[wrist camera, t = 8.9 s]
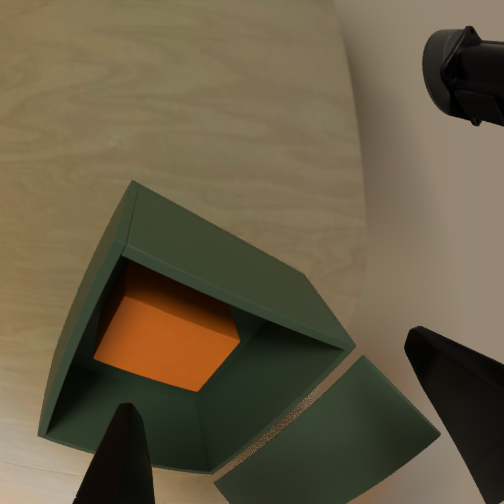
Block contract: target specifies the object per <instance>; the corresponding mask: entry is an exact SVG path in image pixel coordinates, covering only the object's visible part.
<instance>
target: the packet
mask: <svg viewBox="0 0 504 504" xmlns="http://www.w3.org/2000/svg"><path fill="white" fill-rule="evenodd" d="M239 343H240V338H239V335H238V332H237V330H236V327H235V324H234V321H233V318H232V315H231V312H230V309H229V306H228V303H226V302H223V301H221V300H219V299H216V298H214V297H212V296H209V295H207V294H205V293H202V292H200V291H198V290H196V289H193V288H191V287H189V286H187V285H184V284H182V283H180V282H178V281H176V280H173V279H171V278H169V277H167V276H165V275H162V274H160V273H158V272H156V271H154V270H152V269H150V268H147V267H145V266H143V265H141V264H139V263H137V262H135V261H133V260H131V259H128V260H127V262H126V264H125V266H124V268H123V270H122V272H121V274H120V276H119V277H118V279H117V281H116V283H115V285H114V287H113V289H112V291H111V293H110V295H109V297H108V299H107V301H106V303H105V305H104V307H103V309H102V312H101V314H100V316H99V322H98V328H97V333H96V340H95V346H94V353H93V359H95V360H98V361H101V362H103V363H106V364H109V365H111V366H114V367H117V368H120V369H123V370H126V371H129V372H132V373H135V374H138V375H141V376H144V377H147V378H150V379H153V380H156V381H160V382H163V383H166V384H170V385H173V386H177V387H180V388H184V389H188V390H191V391H195V392H198V391H199V390H200V388H201V387H202V386H203V385H204V384H205V383H206V382H207V380H208V379H209V378H210V377H211V376H212V375H213V373H214V372H215V371H216V370H217V369H218V367H219V366H220V365H221V364H222V363H223V362H224V360H225V359H226V358H227V357H228V356H229V354H230V353H231V352H232V351H233V350H234V349H235V347H236V346H237V345H238V344H239Z"/></svg>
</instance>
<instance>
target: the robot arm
mask: <svg viewBox="0 0 504 504" xmlns="http://www.w3.org/2000/svg"><path fill="white" fill-rule="evenodd" d="M440 74H441V76H442V77H443V79H444V80H445V82H446V83H447V84H448V86H449V87H450V89H451V91H452V92H453V94H454V95H455V97H456V98H457V100H458V102H459V103H460V105H461V106H462V108H463V110H464V111H465V113H466V115H467V116H468V118H469V120H470V121H471V123H472V125H474V126H479V125H480V123H481V122H482V120H483V121H486V122H490V123H493V124H497V125H500V126H504V42H499V41H484V40H481V39H480V37H479V36H478V34H477V32H476V31H475V29H474V28H473V27H472V26H466V27H465V29H464V30H463V32H462V34H461V35H460V37H459V38H458V40H457V42H456V43H455V45H454V47H453V48H452V50H451V51H450V53H449V55H448V56H447V58H446V59H445V61H444V62H443V64H442V66H441V67H440ZM404 349H405V353H406V355H407V357H408V359H409V361H410V363H411V365H412V367H413V369H414V372H415V374H416V375H417V378H418V380H419V382H420V384H421V386H422V388H423V390H424V391H425V393H426V395H427V396H428V398H429V400H430V401H431V403H432V404H433V406H434V408H435V410H436V411H437V413H438V415H439V417H440V418H441V420H442V422H443V424H444V425H445V427H446V429H447V431H448V432H449V434H450V436H451V438H452V440H453V441H454V443H455V445H456V447H457V449H458V450H459V452H460V454H461V456H462V458H463V460H464V461H465V464H466V465H467V467H468V469H469V471H470V473H471V475H472V477H473V479H474V481H475V483H476V485H477V487H478V489H479V491H480V493H481V495H482V497H483V499H484V501H485V503H486V504H499V503H501V502H502V501H504V364H502V363H500V362H498V361H496V360H494V359H492V358H489V357H487V356H485V355H483V354H481V353H479V352H476V351H474V350H472V349H470V348H468V347H466V346H463V345H461V344H459V343H457V342H455V341H453V340H450V339H448V338H446V337H444V336H442V335H440V334H437V333H435V332H433V331H431V330H429V329H427V328H424V327H422V326H417V327H415V328H412V329H411V330H409V333H408V336H407V339H406V342H405V346H404ZM72 504H155V497H154V488H153V477H152V467H151V461H150V456H149V451H148V446H147V440H146V434H145V429H144V423H143V419H142V417H141V415H140V413H139V412H138V410H137V408H136V407H135V405H134V404H133V403H132V402H128V403H121V404H119V405H118V407H117V409H116V411H115V413H114V415H113V417H112V419H111V421H110V423H109V425H108V427H107V429H106V431H105V433H104V436H103V438H102V440H101V442H100V444H99V446H98V448H97V450H96V453H95V455H94V457H93V459H92V461H91V463H90V465H89V468H88V470H87V472H86V474H85V476H84V479H83V481H82V483H81V485H80V488H79V490H78V492H77V494H76V498H75V499H74V501H73V503H72Z"/></svg>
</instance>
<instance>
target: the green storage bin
mask: <svg viewBox="0 0 504 504" xmlns="http://www.w3.org/2000/svg"><path fill="white" fill-rule="evenodd" d="M128 259H131V260H133V261H135V262H137V263H139V264H141V265H143V266H145V267H147V268H150V269H152V270H154V271H156V272H158V273H160V274H162V275H165V276H167V277H169V278H171V279H173V280H176V281H178V282H180V283H182V284H184V285H187V286H189V287H191V288H193V289H196V290H198V291H200V292H202V293H205V294H207V295H209V296H212V297H214V298H216V299H219V300H221V301H223V302H226V303H228V306H229V309H230V312H231V315H232V318H233V321H234V324H235V327H236V330H237V332H238V335H239V338H240V343H239V344H238V345H237V346H236V347H235V349H234V350H233V351H232V352H231V353H230V354H229V356H228V357H227V358H226V359H225V360H224V362H223V363H222V364H221V365H220V366H219V367H218V369H217V370H216V371H215V372H214V373H213V375H212V376H211V377H210V378H209V379H208V380H207V382H206V383H205V384H204V385H203V386H202V387H201V388H200V390H199V391H198V392H195V391H191V390H188V389H184V388H180V387H177V386H173V385H170V384H166V383H163V382H160V381H156V380H153V379H150V378H147V377H144V376H141V375H138V374H135V373H132V372H129V371H126V370H123V369H120V368H117V367H114V366H111V365H109V364H106V363H103V362H101V361H98V360H95V359H93V353H94V346H95V340H96V333H97V328H98V322H99V316H100V314H101V312H102V309H103V307H104V305H105V303H106V301H107V299H108V297H109V295H110V293H111V291H112V289H113V287H114V285H115V283H116V281H117V279H118V277H119V276H120V274H121V272H122V270H123V268H124V266H125V264H126V262H127V260H128ZM355 347H356V344H355V343H354V342H353V340H352V339H351V337H350V336H349V335H348V333H347V332H346V330H345V329H344V328H343V326H342V325H341V324H340V322H339V321H338V319H337V318H336V317H335V315H334V314H333V313H332V311H331V310H330V308H329V307H328V306H327V304H326V303H325V302H324V300H323V299H322V298H321V296H320V295H319V293H318V292H317V291H316V289H315V288H314V287H313V285H312V284H311V283H310V281H309V280H308V279H307V277H306V276H305V275H304V274H303V273H301V272H299V271H297V270H296V269H294V268H292V267H290V266H288V265H287V264H285V263H283V262H281V261H279V260H278V259H276V258H274V257H272V256H270V255H269V254H267V253H265V252H263V251H261V250H259V249H258V248H256V247H254V246H252V245H250V244H249V243H247V242H245V241H243V240H241V239H239V238H238V237H236V236H234V235H232V234H230V233H229V232H227V231H225V230H223V229H221V228H219V227H218V226H216V225H214V224H212V223H210V222H208V221H207V220H205V219H203V218H201V217H199V216H198V215H196V214H194V213H192V212H190V211H188V210H187V209H185V208H183V207H181V206H179V205H177V204H176V203H174V202H172V201H170V200H168V199H166V198H165V197H163V196H161V195H159V194H157V193H155V192H154V191H152V190H150V189H148V188H146V187H144V186H143V185H141V184H139V183H137V182H135V181H133V180H132V181H131V183H130V184H129V186H128V188H127V190H126V192H125V193H124V195H123V197H122V199H121V201H120V203H119V205H118V206H117V208H116V210H115V212H114V214H113V216H112V218H111V220H110V222H109V224H108V226H107V228H106V230H105V232H104V234H103V236H102V238H101V240H100V242H99V244H98V246H97V249H96V251H95V253H94V255H93V257H92V259H91V262H90V264H89V266H88V268H87V270H86V273H85V275H84V277H83V280H82V282H81V284H80V287H79V289H78V292H77V294H76V296H75V299H74V301H73V304H72V306H71V309H70V311H69V314H68V317H67V319H66V322H65V325H64V327H63V330H62V333H61V336H60V338H59V341H58V344H57V347H56V350H55V353H54V356H53V360H52V364H51V368H50V372H49V377H48V381H47V386H46V390H45V395H44V400H43V405H42V411H41V416H40V422H39V428H38V436H39V437H42V438H45V439H47V440H50V441H53V442H56V443H59V444H62V445H65V446H68V447H71V448H74V449H78V450H81V451H85V452H88V453H92V454H95V453H96V450H97V448H98V446H99V444H100V442H101V440H102V438H103V436H104V433H105V431H106V429H107V427H108V425H109V423H110V421H111V419H112V417H113V415H114V413H115V411H116V409H117V407H118V405H119V404H121V403H128V402H132V403H133V404H134V405H135V407H136V408H137V410H138V412H139V413H140V415H141V417H142V419H143V423H144V429H145V434H146V440H147V446H148V451H149V456H150V461H151V467H155V468H161V469H168V470H175V471H182V472H190V473H199V474H211V475H212V474H214V473H215V472H217V471H218V470H219V469H221V468H222V467H223V466H225V465H226V464H227V463H229V462H230V461H231V460H233V459H234V458H235V457H236V456H238V455H239V454H240V453H242V452H243V451H244V450H245V449H247V448H248V447H249V446H250V445H252V444H253V443H254V442H255V441H256V440H258V439H259V438H260V437H261V436H262V435H264V434H265V433H266V432H267V431H268V430H270V429H271V428H272V427H273V426H274V425H275V424H277V423H278V422H279V421H280V420H281V419H282V418H283V417H285V416H286V415H287V414H288V413H289V412H290V411H291V410H292V409H294V408H295V407H296V406H297V405H298V404H299V403H300V402H301V401H302V400H303V399H304V398H305V397H307V396H308V395H309V394H310V393H311V392H312V391H313V390H314V389H315V388H316V387H317V386H318V385H319V384H320V383H321V382H322V381H323V380H324V379H325V378H326V377H327V376H328V375H329V374H330V373H331V372H332V371H333V370H334V369H335V368H336V367H337V366H338V365H339V364H340V363H341V362H342V361H343V360H344V359H345V358H346V357H347V356H348V355H349V354H350V353H351V352H352V350H353V349H354V348H355Z"/></svg>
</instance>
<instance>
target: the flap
mask: <svg viewBox="0 0 504 504" xmlns="http://www.w3.org/2000/svg"><path fill="white" fill-rule="evenodd" d="M440 435H441V433H440V432H439V431H438V430H437V429H436V428H435V427H434V426H433V425H432V424H431V423H430V422H429V421H428V420H427V419H426V418H425V417H424V415H423V414H421V412H420V411H419V410H418V409H417V408H416V407H415V406H414V405H413V404H412V403H411V402H410V401H409V400H408V399H407V398H406V397H405V396H404V395H403V394H402V393H401V392H400V391H399V390H398V389H397V388H396V387H395V386H394V385H393V384H392V383H391V382H390V381H389V380H388V379H387V378H386V377H385V376H384V375H383V374H382V373H381V372H380V371H379V370H378V369H377V368H376V367H375V366H374V365H373V364H372V363H371V362H370V361H369V360H368V359H367V358H366V357H365V356H364V355H363V356H361V357H360V358H359V359H358V360H357V361H356V362H355V364H353V365H352V366H351V368H350V369H349V370H348V371H347V372H346V373H345V374H344V375H343V376H342V377H341V378H340V379H339V380H338V381H336V382H335V384H333V385H332V386H331V387H330V388H329V389H328V390H327V391H326V392H325V393H324V394H323V395H322V396H321V397H320V398H319V399H318V400H316V401H315V402H314V403H313V404H312V405H311V406H310V407H309V408H308V409H307V410H305V411H304V412H303V413H302V414H301V415H300V416H299V417H297V418H296V419H295V420H294V421H293V422H292V423H291V424H289V425H288V426H287V427H286V428H285V429H283V430H282V431H281V432H280V433H279V434H277V435H276V436H275V437H274V438H273V439H271V440H270V441H269V442H268V443H266V444H265V445H264V446H263V447H261V448H260V449H259V450H258V451H256V452H255V453H254V454H252V455H251V456H250V457H248V458H247V459H246V460H244V461H243V462H242V463H240V464H239V465H238V466H236V467H235V468H234V469H232V470H231V471H229V472H228V473H227V474H225V475H224V476H222V477H221V478H219V479H218V480H217V481H215V482H214V484H215V486H216V487H217V488H218V489H219V491H220V492H221V493H222V494H223V496H224V497H225V498H226V499H227V501H228V502H229V503H230V504H346V503H348V502H349V501H351V500H353V499H354V498H356V497H358V496H359V495H361V494H363V493H364V492H366V491H367V490H369V489H370V488H372V487H373V486H375V485H377V484H378V483H379V482H381V481H382V480H384V479H385V478H387V477H388V476H390V475H391V474H392V473H394V472H395V471H397V470H398V469H399V468H401V467H402V466H404V465H405V464H406V463H407V462H409V461H410V460H411V459H413V458H414V457H415V456H417V455H418V454H419V453H420V452H422V451H423V450H424V449H425V448H427V447H428V446H429V445H430V444H431V443H432V442H434V441H435V440H436V439H437V438H438V437H439V436H440Z"/></svg>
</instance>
